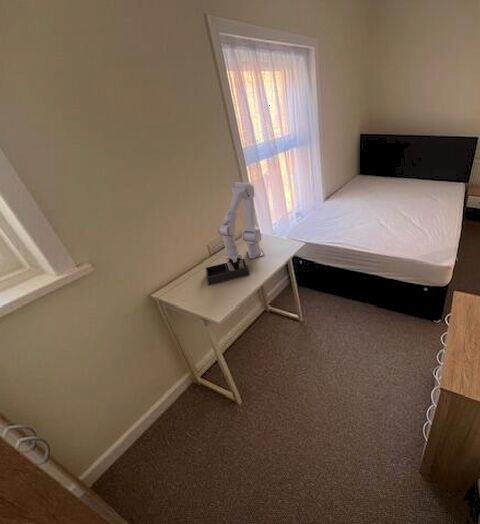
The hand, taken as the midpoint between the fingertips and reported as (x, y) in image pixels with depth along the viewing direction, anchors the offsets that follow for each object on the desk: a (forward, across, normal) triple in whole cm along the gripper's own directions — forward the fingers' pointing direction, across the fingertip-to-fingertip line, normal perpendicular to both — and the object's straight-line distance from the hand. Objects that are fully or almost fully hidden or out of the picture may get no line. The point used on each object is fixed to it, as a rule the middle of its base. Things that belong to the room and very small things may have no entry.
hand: (236, 266), depth 155 cm
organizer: (+4, 0, -5) cm, 6 cm away
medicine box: (+3, 0, 0) cm, 3 cm away
